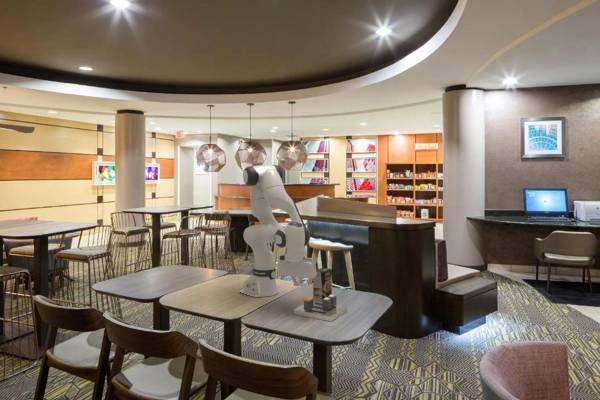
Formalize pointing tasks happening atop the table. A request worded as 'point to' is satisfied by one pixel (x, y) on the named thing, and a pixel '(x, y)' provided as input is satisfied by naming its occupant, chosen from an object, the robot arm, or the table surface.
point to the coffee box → (322, 284)
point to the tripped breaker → (308, 303)
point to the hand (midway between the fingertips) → (297, 285)
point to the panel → (321, 311)
